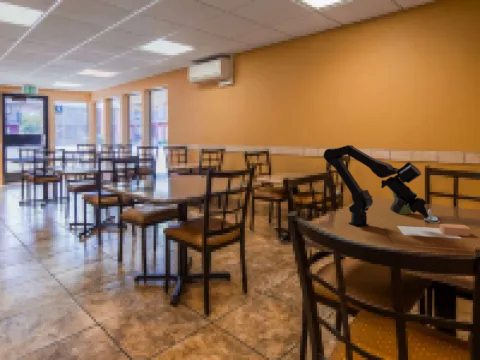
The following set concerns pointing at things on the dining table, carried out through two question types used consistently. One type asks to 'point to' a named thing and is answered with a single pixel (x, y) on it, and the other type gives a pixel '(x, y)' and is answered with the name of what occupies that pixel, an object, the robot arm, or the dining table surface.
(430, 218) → the pacifier
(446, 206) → the dining table surface
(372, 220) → the dining table surface
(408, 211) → the plant pot
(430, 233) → the mat
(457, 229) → the orange block
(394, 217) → the dining table surface
